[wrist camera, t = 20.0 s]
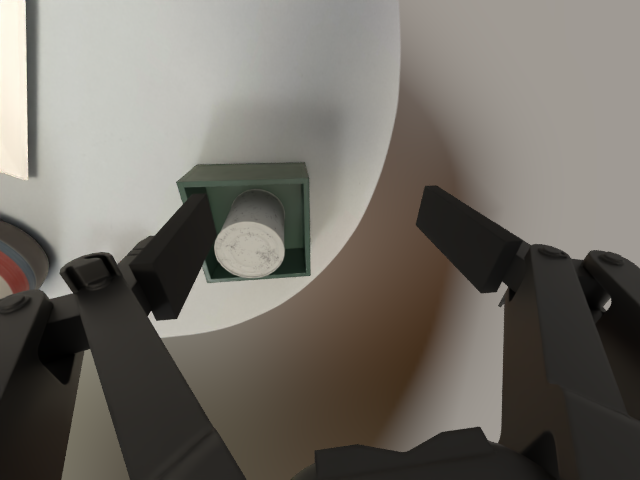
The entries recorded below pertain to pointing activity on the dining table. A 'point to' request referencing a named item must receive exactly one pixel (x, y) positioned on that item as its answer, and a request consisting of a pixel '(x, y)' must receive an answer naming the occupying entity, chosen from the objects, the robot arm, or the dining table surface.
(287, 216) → the bin
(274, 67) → the dining table surface
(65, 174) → the dining table surface
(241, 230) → the white speckled cylinder
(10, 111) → the white flat square slab
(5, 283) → the vase
